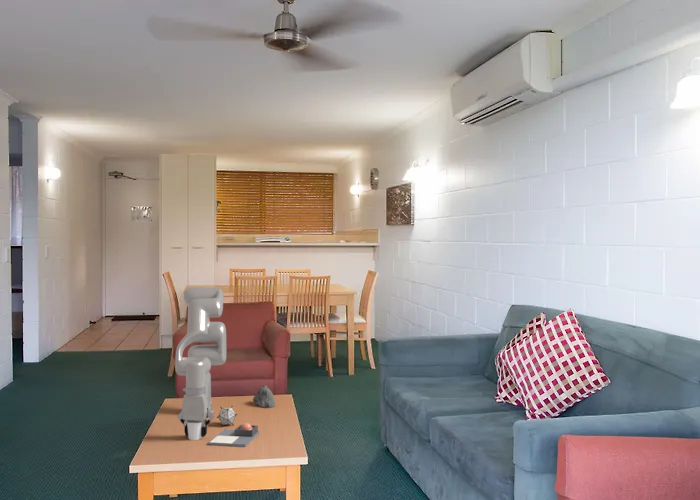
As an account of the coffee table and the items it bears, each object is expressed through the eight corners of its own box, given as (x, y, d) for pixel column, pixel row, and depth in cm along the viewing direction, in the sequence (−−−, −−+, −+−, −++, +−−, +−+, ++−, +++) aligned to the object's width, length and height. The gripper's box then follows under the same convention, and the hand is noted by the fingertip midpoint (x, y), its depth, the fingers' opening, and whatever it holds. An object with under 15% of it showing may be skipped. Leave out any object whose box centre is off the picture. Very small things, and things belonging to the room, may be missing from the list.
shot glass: (188, 441, 257) (188, 423, 257) (185, 436, 263) (185, 419, 263) (205, 439, 260) (205, 421, 260) (202, 434, 266) (202, 417, 266)
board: (224, 431, 270) (224, 423, 270) (259, 433, 268) (259, 425, 268) (208, 445, 252) (208, 436, 252) (245, 446, 250) (245, 437, 250)
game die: (229, 434, 279) (231, 419, 273) (212, 426, 280) (213, 411, 275) (239, 420, 286) (241, 405, 280) (222, 412, 288) (224, 397, 282)
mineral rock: (252, 402, 321) (252, 382, 321) (274, 401, 323) (274, 381, 323) (253, 408, 308) (253, 387, 308) (275, 408, 310) (275, 387, 310)
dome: (242, 431, 267) (242, 421, 267) (254, 432, 266) (254, 421, 266) (238, 435, 262) (238, 424, 262) (250, 435, 261) (250, 425, 261)
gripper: (171, 392, 259) (171, 437, 259) (212, 394, 256) (212, 439, 256) (179, 388, 266) (179, 432, 267) (219, 390, 264) (219, 434, 264)
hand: (195, 435), depth 262 cm, fingers closed on shot glass, 6 cm apart
